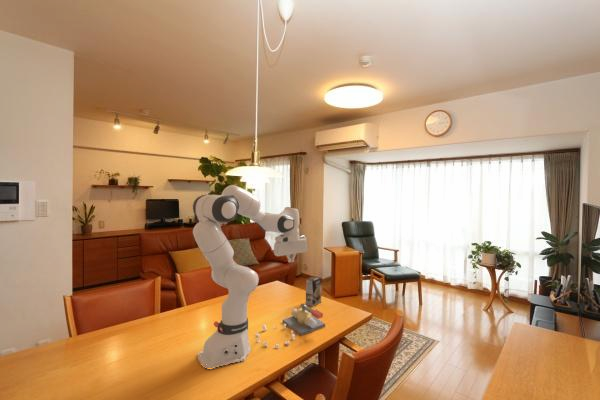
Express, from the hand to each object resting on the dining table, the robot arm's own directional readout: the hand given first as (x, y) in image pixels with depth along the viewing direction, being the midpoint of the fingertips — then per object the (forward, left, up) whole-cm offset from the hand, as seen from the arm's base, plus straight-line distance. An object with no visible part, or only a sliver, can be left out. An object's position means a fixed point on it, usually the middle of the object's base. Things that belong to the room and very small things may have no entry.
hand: (291, 262), depth 150 cm
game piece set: (-15, -9, -34) cm, 38 cm away
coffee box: (+26, +12, -33) cm, 44 cm away
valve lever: (+4, -13, -24) cm, 28 cm away
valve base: (+4, -6, -33) cm, 34 cm away
